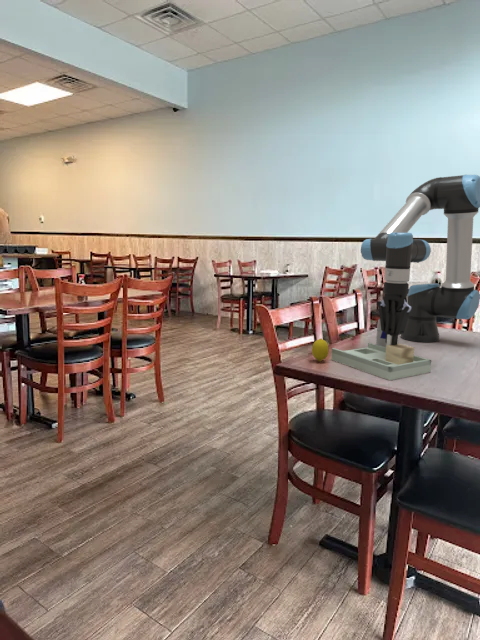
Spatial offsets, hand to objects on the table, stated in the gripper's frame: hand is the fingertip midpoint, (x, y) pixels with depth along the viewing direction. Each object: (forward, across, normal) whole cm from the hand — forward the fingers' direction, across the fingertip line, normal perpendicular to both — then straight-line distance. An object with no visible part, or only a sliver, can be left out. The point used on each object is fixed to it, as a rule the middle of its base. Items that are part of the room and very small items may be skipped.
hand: (390, 354), depth 146 cm
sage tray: (+4, -2, -3) cm, 5 cm away
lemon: (+5, -15, -17) cm, 23 cm away
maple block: (+2, +4, 0) cm, 4 cm away
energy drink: (+4, -15, +13) cm, 21 cm away
